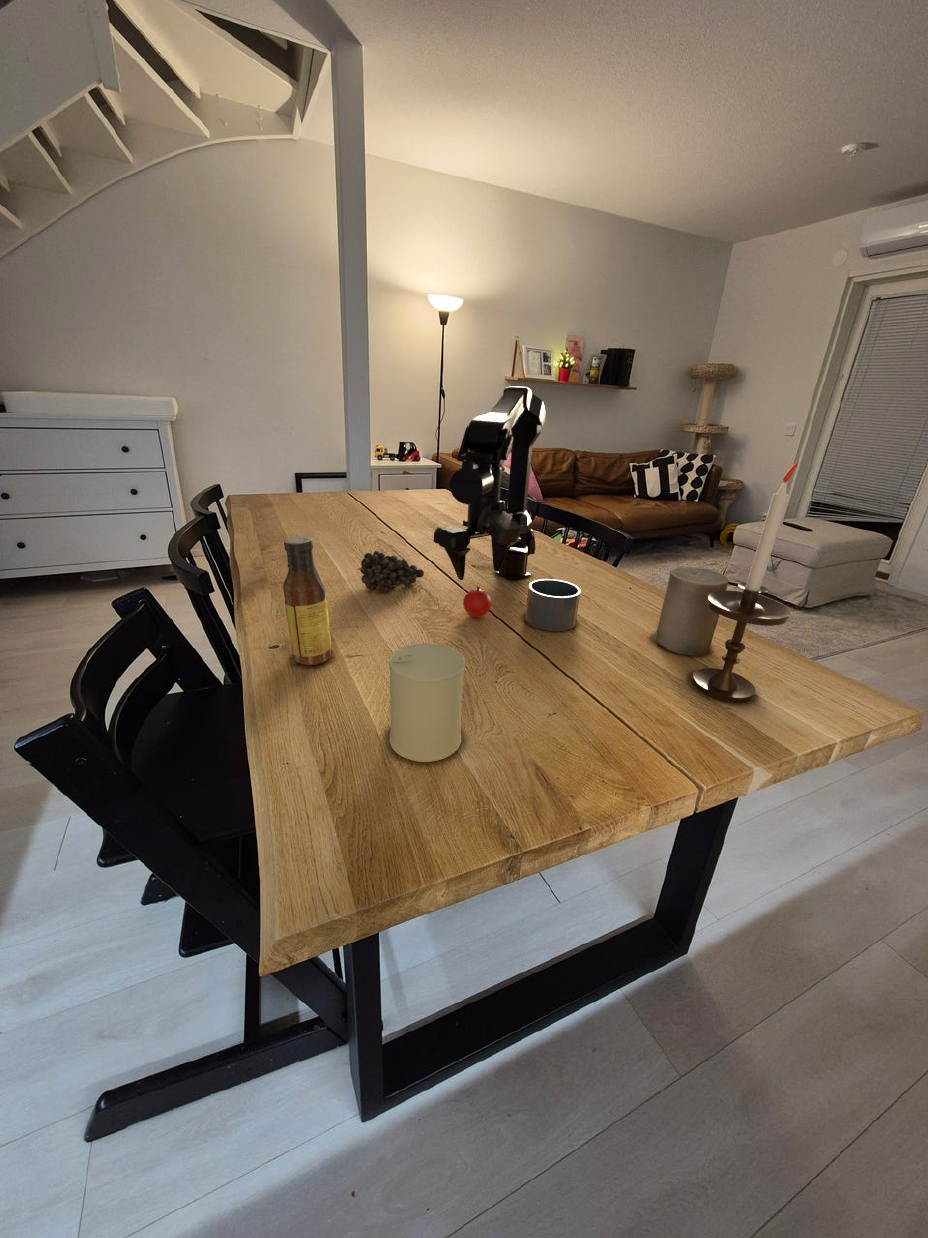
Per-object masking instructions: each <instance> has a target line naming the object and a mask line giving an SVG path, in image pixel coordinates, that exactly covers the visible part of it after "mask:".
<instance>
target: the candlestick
mask: <svg viewBox="0 0 928 1238" xmlns="http://www.w3.org/2000/svg"><path fill="white" fill-rule="evenodd" d="M798 464H799V459H796V462H795V463H794V464H793V465H792V466H791V467H789V469H788V470H787V472H786V473H785V474H784V476H783V478H782V482H783V483H781V486H780V488H779V489H778V491H777V492H774V493H773V494H772V497H771V501H770V504H769V508H768V511H767V515H766V518H765V521H764V524H763V527H762V531H761V533H760V538H759V541H758V544H757V547H756V550H755V554H754V558H753V561H752V564H751V567H750V570H749V574H748V577H747V581H746V582H739V583H737V586H738V587H739V588H740V589H743V591H740V590H739V591H737V590H726V591H715V592H712V593H710V594H709V595H708V599H707V602H706V603H707V606H708V607H709V608H710V609H711V610H712V611H714V612H716V613H718V614H720V615H719V616H722V617H724V618H727V619H729V620H732V621H735V622H736V623H735V627H734V630H733V633H732V636H731V639H727V640H726V641H725V642H724V647H725V649H726V654H723V655H722V656H721V660H722V661H724V663H723V666H722V668H718V667H717V668H716V667H703V668H698V669H696V670H695V671H693V674H692V678H691V683H692V685H693V686H694V687H695V688H696V689H697V690H698V691H699V692H700V693H702V694H704V695H706V696H708V697H710V698H713V699H714V700H715V699H716V700H719V701H722V702H727V703H734V704H742V703H747V702H750V701H752V700H753V698H754V697H755V693H756V687H755V685H754V683H752V682H751V681H750V680H748V679H747V678H746V677H744V676H742V675H740V674H738V673H735V672H734V671H733V670H734V667H735V665H738V664H739V663H740V658H738V656H739V654H741V653H743V651H745V649H746V645H745V643H744V642H742V641H743V638H744V634H745V631H746V629H747V624H748V625H753V626H754V625H756V626H765V627H774V626H780V625H784V624H785V623H787V622H788V620H789V617H790V615H791V613H790V610H789V608H788V607H787V606H786V605H784V604H782V603H781V602H778V601H776V600H774V599H771V598H768V597H767V596H763V595H760V593H768V592H769V589H768V588H767V587H765V586H763V585H762V583H763V581H764V577H765V575H766V571H767V567H768V565H769V561H770V558H771V555H772V551H773V549H774V547H775V546H774V545H775V542H776V539H777V537H778V533H779V529H780V526H781V523H782V520H783V517H784V514H785V510H786V507H787V504H788V501H789V498H790V495H789V494H788V493H787V487H788V482H789V480H790V479H791V477H792V476H793V474H794V472H795V470H796V469H797V468H798Z"/></svg>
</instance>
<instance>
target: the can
mask: <svg viewBox="0 0 928 1238" xmlns="http://www.w3.org/2000/svg"><path fill="white" fill-rule="evenodd" d="M465 666H466V660H465V657H464V656H463V654H462V653H460V652H459V650H457V649H455V648H454V647H453V648H452V647H451V646H448V645H444V644H440V643H432V642H431V643H430V642H421V643H414V644H409V645H405V646H403V647H400V648H398V649H397V650H395V651H394V652H393V653H392V654H391V655H390V657H389V659H388V667H389V695H390V696H389V697H390V698H389V699H390V700H389V701H390V733H389V738H388V739H389V740H388V741H389V745H390V747H391V749H392V750H393V751H394V752H395V753H396V754H398V756H400V757H402V758H404V759H406V760H410V761H412V762H413V761H414V762H419V763H431V762H437V761H441V760H443V759H446V758H448V757H450V756H452V755H453V754H454V753H456V752H457V750H459V748H460V745H461V743H462V734H461V733H462V730H461V729H462V728H461V727H462V726H461V725H462V709H463V708H462V706H463V694H464V693H463V691H464V677H465V668H466V667H465Z"/></svg>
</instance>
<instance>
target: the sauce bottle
mask: <svg viewBox="0 0 928 1238" xmlns="http://www.w3.org/2000/svg"><path fill="white" fill-rule="evenodd" d="M313 543H314V542H313V539H312V538H310V537H308V536H293V537H288V538H286V539H284V540H283V547H284V551H285V552H286V558H287V559H286V560H287V568H288V571H287V574H286V577H285V580H284V581H283V585H282V589H283V594H284V606H285V607H284V608H285V614H286V615H285V616H286V620H287V628H288V633H289V642H290V648H291V653H292V657H293V660H294V661H295V662H296V663H297V664H300V665H302V666H317V665H320V664H323V663H325V662H327V661H328V660H329V659H330V658H331V656H332V638H331V628H330V619H329V618H330V617H329V610H328V602H327V593H326V592H327V591H326V588H325V586H324V584H323V582H322V579H321V577H320V575H319V572H318V570H317V568H316V566H315V561H314V554H313V549H314V544H313Z"/></svg>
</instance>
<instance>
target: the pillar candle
mask: <svg viewBox="0 0 928 1238" xmlns="http://www.w3.org/2000/svg"><path fill="white" fill-rule="evenodd" d="M729 580H730V579H729V578H728V577H727V576H726V575H724V574H722V573H721V572H719V571H715V570H713V569H708V568H704V567H699V566H688V565H687V566H685V565H683V566H676V567H671V568H670V569H669V576H668V579H667V584H666V589H665V593H664V597H663V601H662V606H661V608H660V609H661V610H660V614H659V619H658V622H657V626H656V627H657V628H656V631H655V636H654V641H655V642H656V643H657V644H658V645H660V646H662V647H663V648H665V649H666V650H668V651H670V652H672V653H676V654H679V655H685V656H702V655H705V654H707V653H709V652H710V648H711V645H712V641H713V638H714V635H715V631H716V628H717V626H718V625H717V624H718V621H719V618H720V616H721V615H720V614H718V613H716V612H714V611H712V610H711V609H710V608H709V607H708V606H707V603H706V602H707V599H708V595H709V594H710V593H712V592H715V591H727V589H728V586H729Z"/></svg>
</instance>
